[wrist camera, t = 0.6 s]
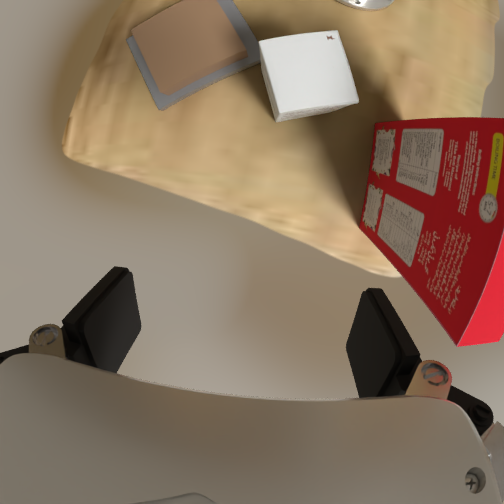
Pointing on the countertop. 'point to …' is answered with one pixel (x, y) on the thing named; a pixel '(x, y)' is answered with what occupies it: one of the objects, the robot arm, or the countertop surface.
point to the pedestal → (192, 48)
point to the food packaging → (443, 217)
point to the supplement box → (306, 74)
